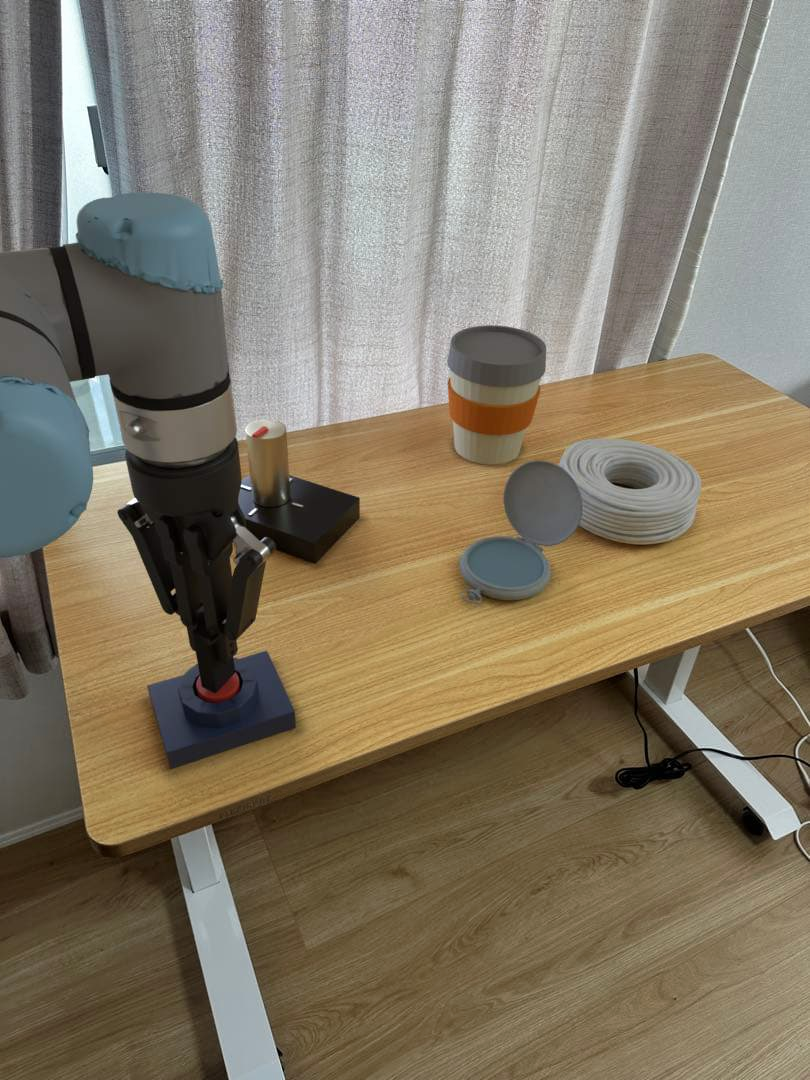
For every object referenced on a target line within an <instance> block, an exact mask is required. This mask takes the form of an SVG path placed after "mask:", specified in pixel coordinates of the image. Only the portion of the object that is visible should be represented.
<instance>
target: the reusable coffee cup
mask: <svg viewBox="0 0 810 1080" xmlns="http://www.w3.org/2000/svg"><path fill="white" fill-rule="evenodd" d="M446 363H447V367H448V369H449V378H448V380H447V394H448V396H447V397H448V398H447V399H448V412H449V413H448V414H449V417H450V418H451V420H452V427H453V444H454V449H455V451H456V453H457V454H458V455H459V456H460V457H462V458H463V459H465V460H466V461H469V462H472V463H475V464H480V465H487V466H488V465H489V466H490V465H492V466H494V465H496V466H497V465H502V464H503V465H504V464H507V463H509V462H511V461H512V462H513V460H515V459H516V458H517V457H518V456H519V454H520V452H521V449H522V445H523V441H524V437H525V434H526V430H527V428H528V427H529V426H530V425H531V423H532V421H533V417H534V415H535V411H536V407H537V405H538V400H539V397H540V394H541V386H540V382H541V379H542V377H543V376H544V375H545V373H546V367H547V345H546V343H545V342H544V340H543V339H542V338H541V337H539V336H537V335H536V334H534V333H531V332H530V331H527V330H524V329H522V328H518V327H517V328H516V327H512V326H507V325H496V324H495V325H492V324H489V325H488V324H486V325H485V324H484V325H475V326H470V327H467V328H463V329H461V330H459V331H457V332H455V333H454V335H453V336H452V337H451V339H450V345H449V350H448V355H447V359H446Z"/></svg>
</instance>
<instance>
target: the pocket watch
mask: <svg viewBox="0 0 810 1080" xmlns="http://www.w3.org/2000/svg"><path fill="white" fill-rule="evenodd" d="M502 499H503V508H504V512H505V516H506V518H507V520H508V522H509V524H510V526H511V527H512V528H513V530H514V531H515V532H516V533H517V534H518V535H519V536H516V537H511V536H501V535H500V536H496V535H495V536H489V537H484V538H481V539H479V540H476V541H474V542H472V543H471V544H470V545H469V546H467V548H466V549H465V550H464V551H463V552H462V554H461V556H460V559H459V563H458V567H459V572H460V574H461V576H462V579H463V580H464V582H465V583H466V585H468V586H469V587H470V588H471V589H469V590H468V589H467V590H463V591H461V593H460V595H461V598H462V599H463V600H464V601H466V602H469V603H471V604H480V603H481V602H482V601H483V599H482V595H483V596H485V597H489V598H492V599H496V600H503V601H519V600H526V599H528V598H532V597H534V596H537V595H538V594H540V593H541V592H542V591H543V590H544V589H545V588H547V585H548V584H549V582H550V580H551V577H552V568H551V564H550V562H549V560H548V558H547V557H546V555H545V554H544V553H543V552H544V548H542V547H541V546H543V547H553V546H558V545H560V544H562V543H564V542H566V541H567V540H568V539H570V538H571V537H572V536H573V535H574V534H575V532H576V531H577V529H578V527H580V526H579V523H580V520H581V517H582V509H583V504H582V497H581V493H580V490H579V488H578V486H577V484H576V482H575V481H574V479H573V478H572V477H571V475H570V474H569V473H568V472H567V471H566V470H564V469H563V468H561V467H560V466H559V464H556V463H554V462H552V461H548V460H542V459H541V460H539V459H538V460H537V459H536V460H529V461H526V462H524V463H522V464H521V465H519V466H518V467H516V468H515V469H514V470H513V471H512V472H511V474H510V475H509V476H508V479H507V480H506V483H505V485H504V490H503V498H502ZM464 593H467V594H468V597H467V598H466V597H465V596H464ZM475 600H479V601H475Z"/></svg>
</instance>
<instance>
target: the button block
mask: <svg viewBox="0 0 810 1080" xmlns="http://www.w3.org/2000/svg"><path fill="white" fill-rule="evenodd" d="M233 658H234V666H235V672H236V674H237V675H238V677H239V683H240V692H238V693H237V694H236V695H235V696H234V697H233V698H231V699H230V700H227V701H223V702H220V703H209V702H204V701H203V700H201V699H200V698H198V693H197V687H196V684H197V680H198V678H199V677H200V673H199V667H198V662H197V663H196V664H194V665H193V666H192V667H191V668H189V669H188V670H186V672H184V674H181V675H179V676H175V677H171V678H168V679H165V680H161V681H158V682H154V683H151V684H147V685H146V686H147V691H148V696H149V700H150V703H151V704H150V705H151V708H152V711H153V715H154V718H155V721H156V725H157V728H158V731H159V735H160V738H161V742H162V746H163V749H164V753H165V756H166V759H167V763H168V767H169V769H170V770H173V769H176V768H180V767H182V766H185V765H189V764H191V763H193V762H197V761H201V760H204V759H206V758H209V757H212V756H215V755H218V754H221V753H224V752H227V751H230V750H234V749H235V748H239V747H242V746H245V745H248V744H252V743H254V742H257V741H260V740H263V739H266V738H270V737H273V736H275V735H278V734H281V733H284V732H288V731H291V730H294V729H296V728H297V720H296V719H297V718H296V710H295V708H294V706H293V704H292V701H291V699H290V697H289V695H288V693H287V691H286V689H285V686H284V685H283V682H282V680H281V678H280V676H279V674H278V671H277V669H276V667H275V665H274V662H273V660H272V658H271V656H270V654H269V652H268V650H264V651H261V652H257V653H254V654H250V655H247V656H243V657H240V658H238V657H233Z"/></svg>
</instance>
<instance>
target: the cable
mask: <svg viewBox="0 0 810 1080" xmlns="http://www.w3.org/2000/svg"><path fill="white" fill-rule="evenodd" d="M558 466H560V467H561V468H563V469H564V470H566V471H567V472H568V473H569V474H570V475H571V477H572V478H573V479H574V481H575V482H576V484H577V486H578V488H579V490H580V493H581V497H582V504H583V509H582V517H581V520H580V523H579V526H578V527H581V528H583V529H584V530H586V531H588V532H590V533H592V534H594V535H596V536H599V537H601V538H603V539H607V540H610V541H613V542H617V543H623V544H629V545H655V544H656V545H657V544H661V543H667V542H670V541H673V540H675V539H677V538H679V537H680V536H682V535H683V534H684V533H686V532H687V531H688V530H689V529H690V528H691V526H692V525H693V523H694V521H695V519H696V514H697V510H698V509H697V508H698V503H699V498H700V493H701V491H702V480H701V477H700V474H699V473H698V471H697V470H696V468H694V466H693V465H692V464H690V463H689V462H687V461H686V460H685V459H683V458H681V457H680V456H678V455H676V454H674V453H672V452H669V451H667V450H665V449H662V448H660V447H657V446H654V445H651V444H648V443H644V442H639V441H635V440H630V439H629V440H628V439H622V438H603V437H602V438H600V437H599V438H588V439H582V440H581V439H580V440H578V441H576V442H573V443H571V444H570V445H568V447H567V448H566V449H565V450H564V451H563V453H562V456H561V458H560V461H559V464H558ZM613 483H614V484H613ZM615 484H619V485H625V486H628V487H632V488H628V487H627V488H626V487H623V486H618V485H615Z"/></svg>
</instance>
